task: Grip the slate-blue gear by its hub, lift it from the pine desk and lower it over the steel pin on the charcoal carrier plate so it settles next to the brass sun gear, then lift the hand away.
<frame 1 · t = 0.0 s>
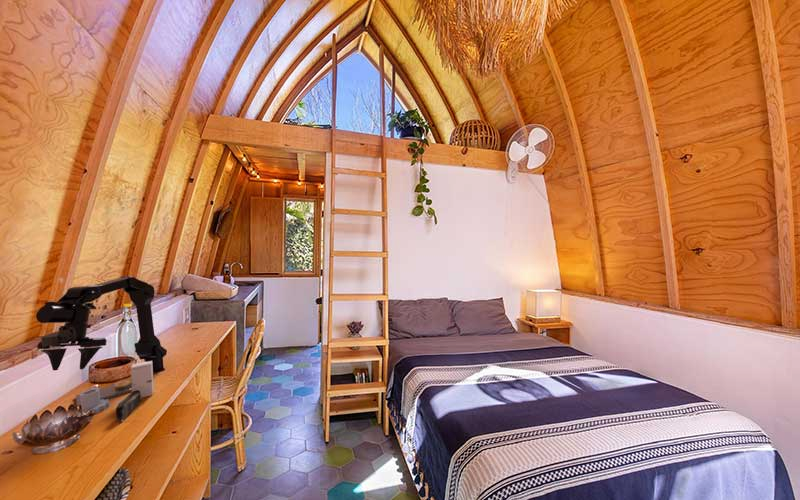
hand: (68, 369, 105), 15 cm above the table, tool pointing down, fingers open, 9 cm apart
mobile phone: (128, 412, 106), on the table
carrier plate: (110, 393, 121), on the table
skincare box: (143, 395, 117), on the table
planet gear: (91, 410, 108), on the table
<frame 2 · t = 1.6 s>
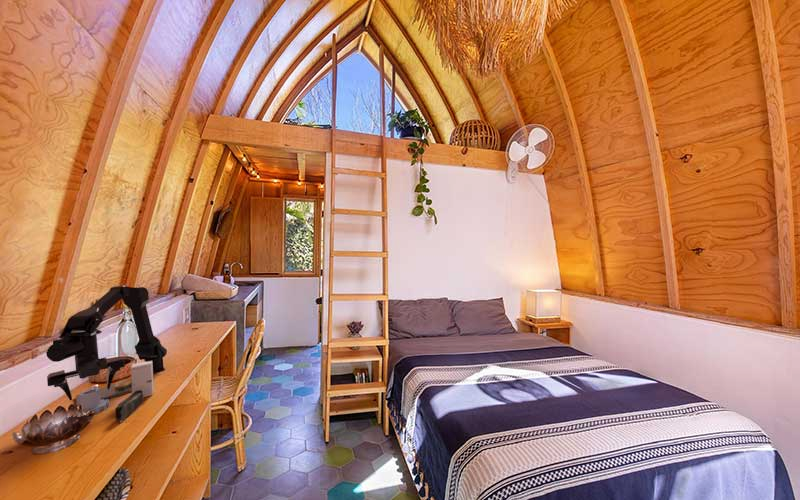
hand: (90, 394, 108), 6 cm above the table, tool pointing down, fingers open, 9 cm apart
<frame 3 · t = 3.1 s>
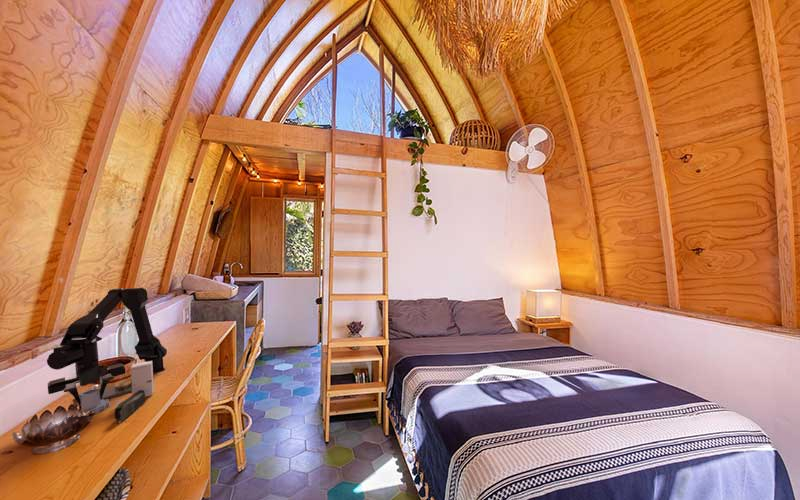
hand: (90, 401, 108), 3 cm above the table, tool pointing down, fingers closed on planet gear, 5 cm apart
planet gear: (91, 410, 108), on the table, touching gripper
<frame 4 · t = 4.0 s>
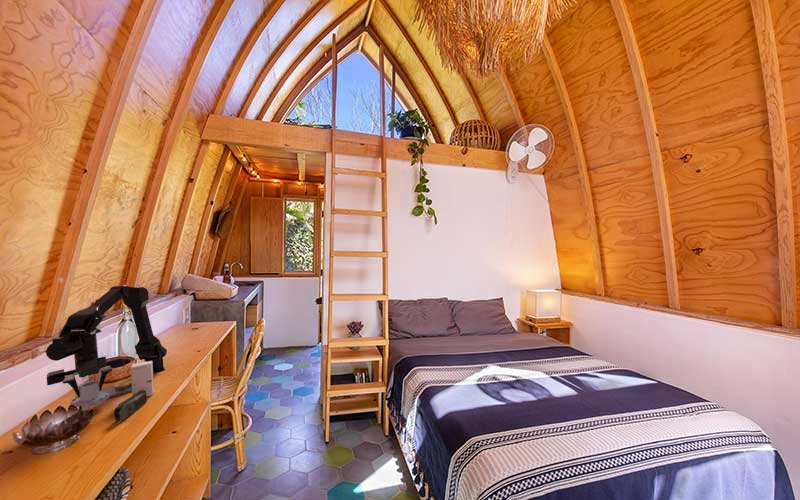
hand: (89, 393, 108), 6 cm above the table, tool pointing down, fingers closed on planet gear, 5 cm apart
planet gear: (90, 402, 108), point 3 cm above the table, touching gripper
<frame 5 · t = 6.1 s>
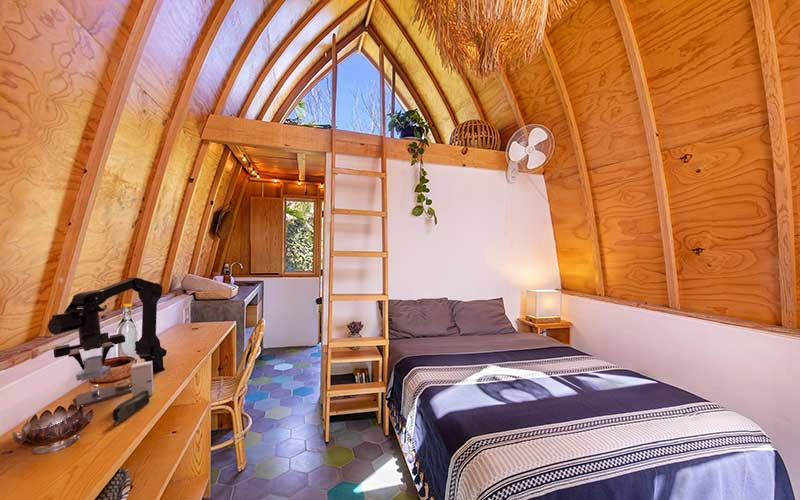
hand: (93, 367, 117), 12 cm above the table, tool pointing down, fingers closed on planet gear, 5 cm apart
planet gear: (94, 374, 117), point 9 cm above the table, touching gripper
when the fingers open (5 cm above the table, at t = 8.7 s): planet gear stays where it is, resting on carrier plate.
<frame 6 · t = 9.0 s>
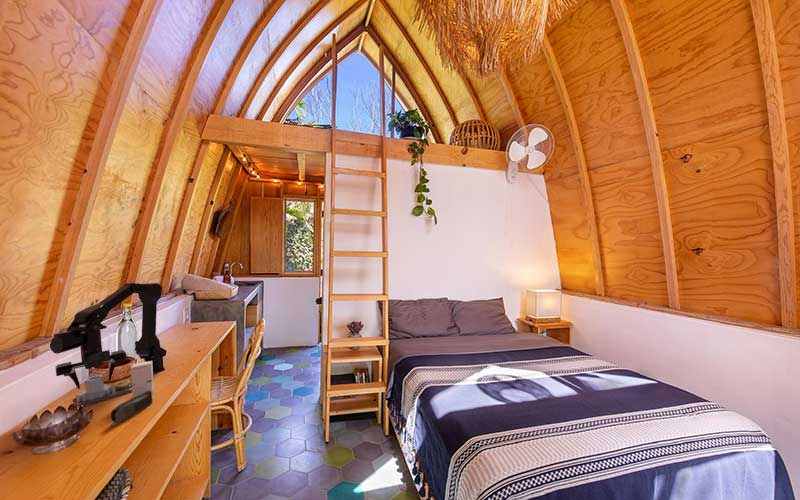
hand: (94, 384, 118), 5 cm above the table, tool pointing down, fingers open, 8 cm apart
planet gear: (95, 394, 118), point 1 cm above the table, touching carrier plate
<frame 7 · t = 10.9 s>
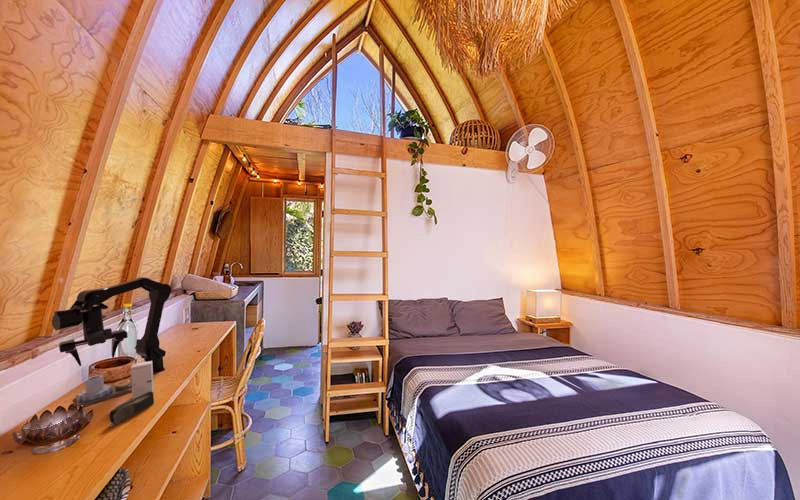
hand: (97, 361, 122), 12 cm above the table, tool pointing down, fingers open, 9 cm apart
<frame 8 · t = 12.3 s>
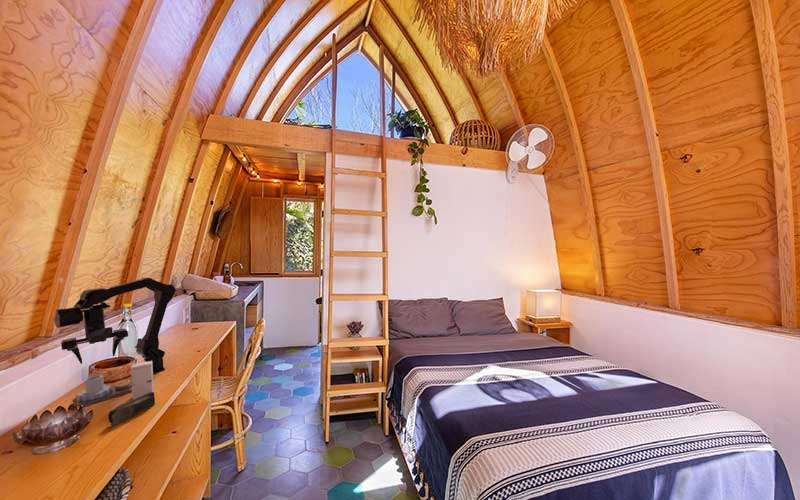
hand: (97, 359, 124), 12 cm above the table, tool pointing down, fingers open, 9 cm apart
at the end: planet gear 0.0 cm from the target spot on the carrier plate, point 1.0 cm above the carrier plate's base; planet gear tilted 0°; the gripper is holding nothing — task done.
